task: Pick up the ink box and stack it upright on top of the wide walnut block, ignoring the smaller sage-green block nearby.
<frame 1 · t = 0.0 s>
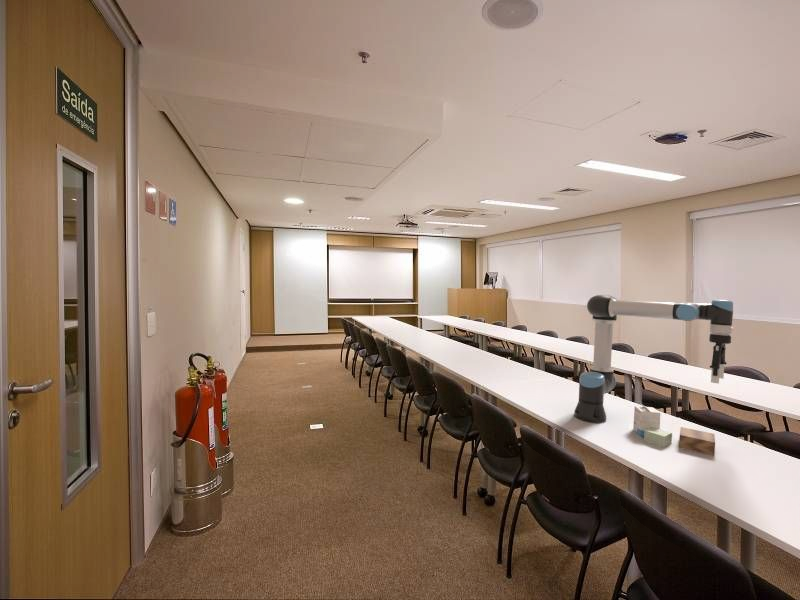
hand: (717, 380, 174), 28 cm above the table, fingers open, 13 cm apart
sage block: (657, 442, 173), on the table
walnut block: (696, 447, 168), on the table
ink box: (645, 433, 183), on the table
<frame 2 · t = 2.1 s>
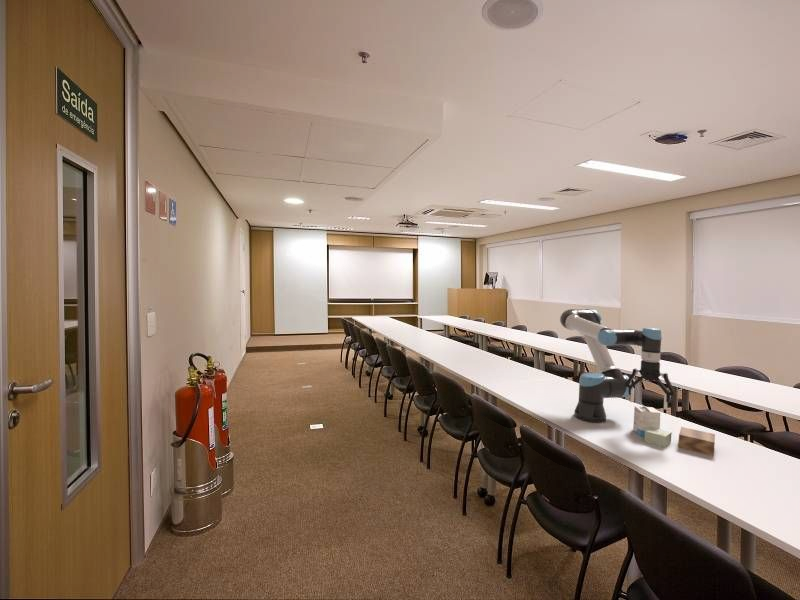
hand: (648, 405, 182), 14 cm above the table, fingers open, 13 cm apart
nothing on the table moved.
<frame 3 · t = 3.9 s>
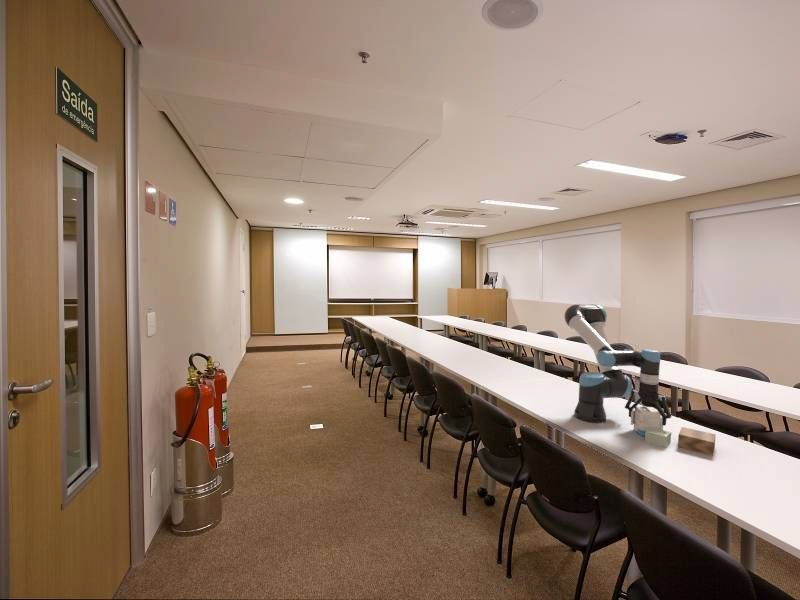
hand: (646, 427, 182), 3 cm above the table, fingers closed on ink box, 11 cm apart
ink box: (646, 433, 183), on the table, touching gripper
everything else where it was.
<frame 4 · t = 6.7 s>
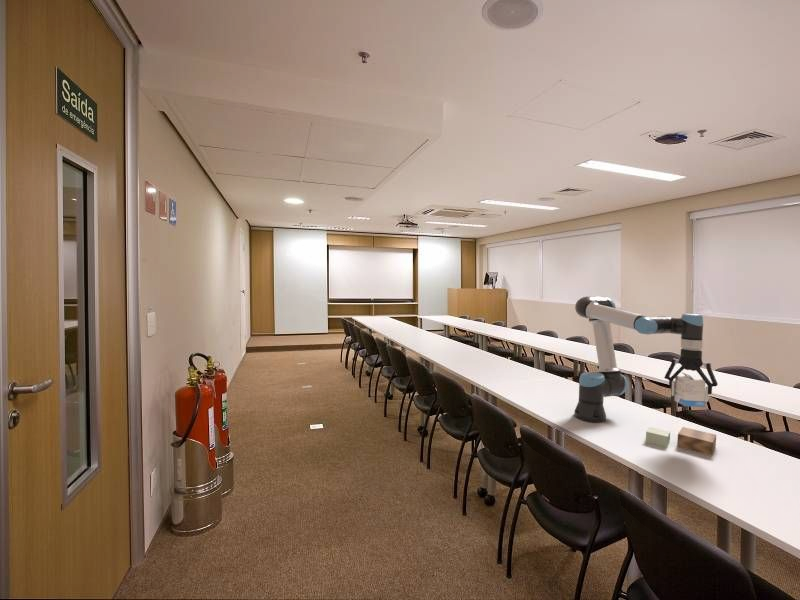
hand: (689, 398, 169), 21 cm above the table, fingers closed on ink box, 11 cm apart
ink box: (689, 404, 169), point 18 cm above the table, touching gripper
everything else where it was.
when the fingers open (10 cm above the table, at t = 9.8 s): ink box drops 2 cm, resting on walnut block.
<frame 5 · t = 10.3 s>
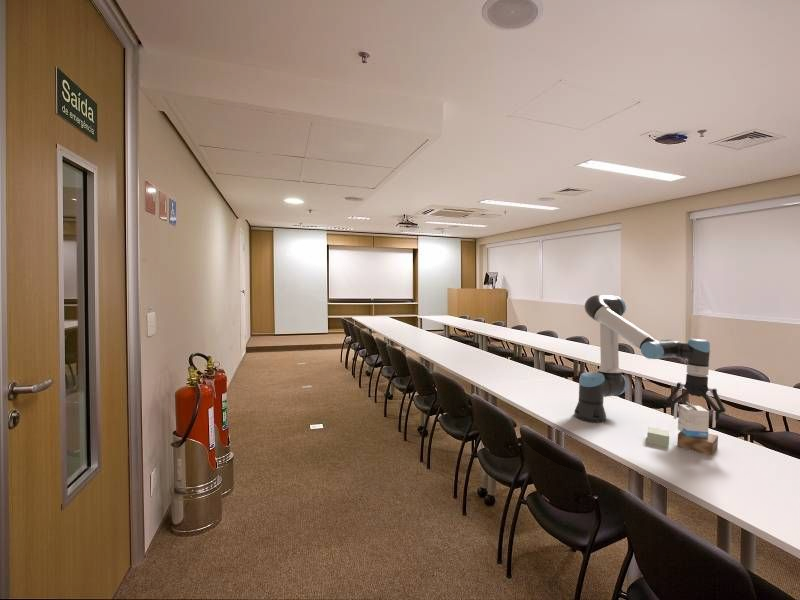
hand: (694, 422, 168), 11 cm above the table, fingers open, 13 cm apart
walnut block: (697, 448, 168), on the table, touching ink box
ink box: (692, 434, 169), point 5 cm above the table, touching walnut block
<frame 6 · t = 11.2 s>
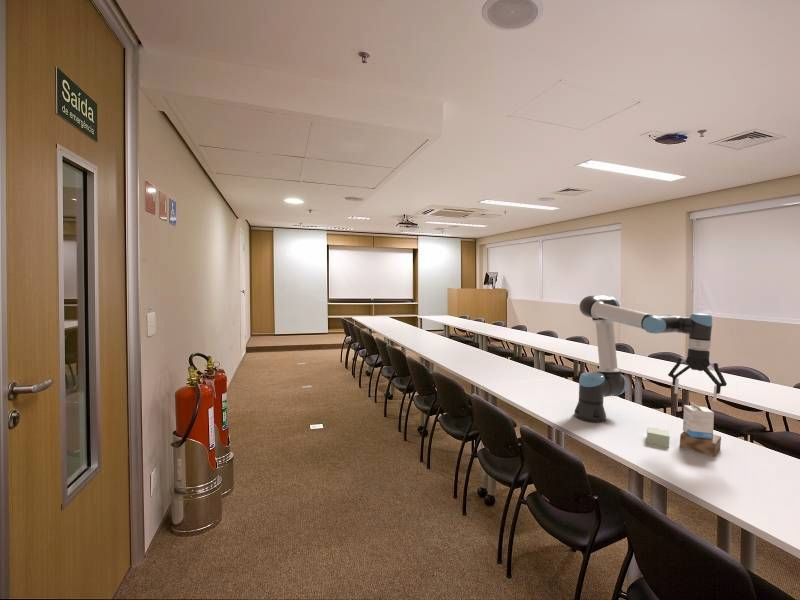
hand: (694, 396, 168), 22 cm above the table, fingers open, 13 cm apart
ink box: (697, 435, 168), point 5 cm above the table, touching walnut block
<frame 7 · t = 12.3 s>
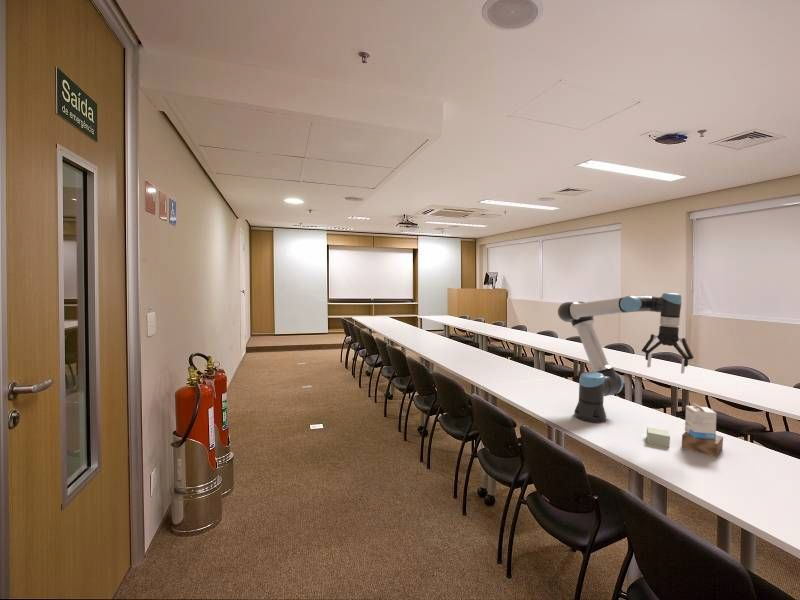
hand: (665, 370, 183), 30 cm above the table, fingers open, 13 cm apart
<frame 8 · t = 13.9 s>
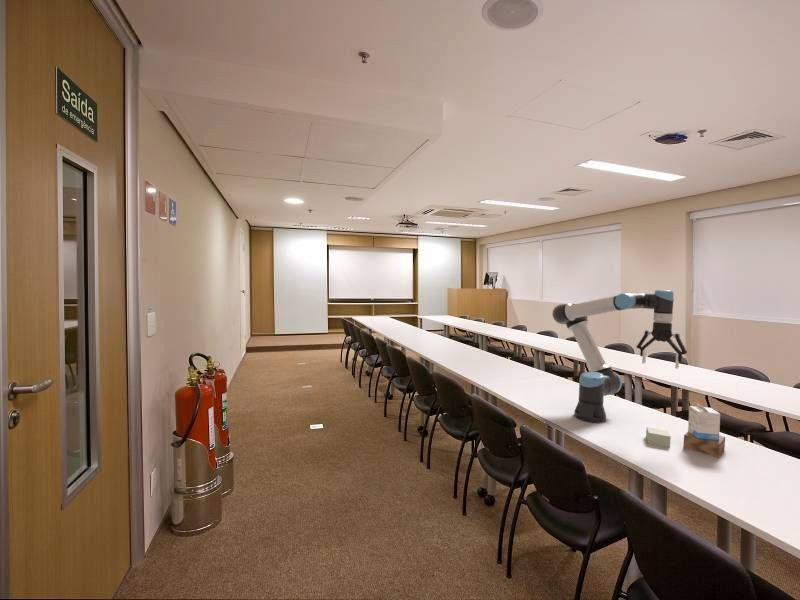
hand: (659, 365, 186), 32 cm above the table, fingers open, 13 cm apart
ink box: (702, 436, 167), point 5 cm above the table, touching walnut block
at the end: ink box inside the target area on the walnut block (0.6 cm from its centre), point 5.8 cm above the walnut block's base; ink box tilted 0°; the gripper is holding nothing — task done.
